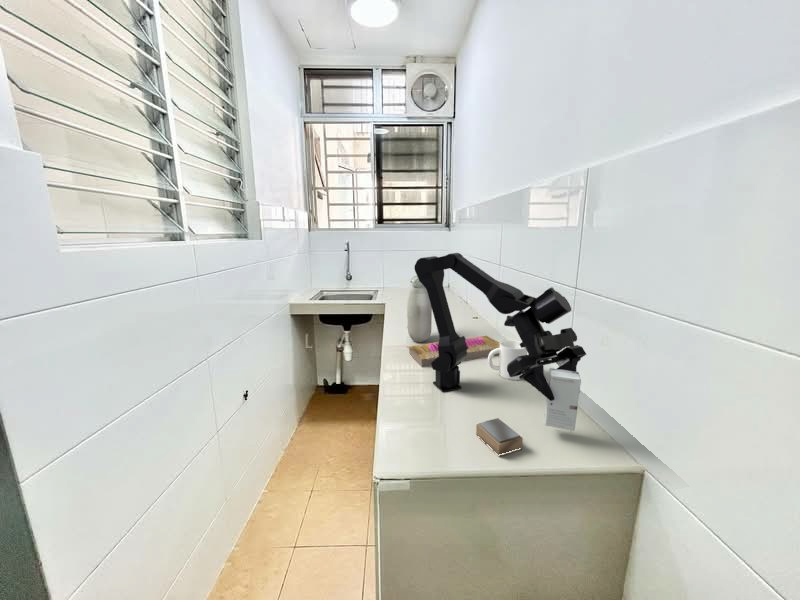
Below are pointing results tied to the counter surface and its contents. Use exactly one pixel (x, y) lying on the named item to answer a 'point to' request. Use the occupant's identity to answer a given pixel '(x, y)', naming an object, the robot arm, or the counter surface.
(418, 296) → the glass bottle
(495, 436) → the block
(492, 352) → the mug
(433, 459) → the counter surface
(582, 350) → the robot arm
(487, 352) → the rafter model
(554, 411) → the skincare box
